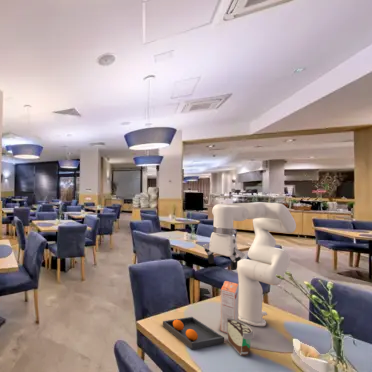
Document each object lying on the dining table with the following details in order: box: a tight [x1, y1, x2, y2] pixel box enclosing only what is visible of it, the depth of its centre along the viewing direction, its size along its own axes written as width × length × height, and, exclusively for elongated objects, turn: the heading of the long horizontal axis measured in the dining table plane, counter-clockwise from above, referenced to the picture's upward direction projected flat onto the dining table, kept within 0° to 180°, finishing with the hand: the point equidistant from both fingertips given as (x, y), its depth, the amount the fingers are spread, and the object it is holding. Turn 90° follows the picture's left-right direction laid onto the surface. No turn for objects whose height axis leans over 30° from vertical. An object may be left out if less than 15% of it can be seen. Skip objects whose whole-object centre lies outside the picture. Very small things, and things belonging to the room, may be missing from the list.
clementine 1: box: [173, 319, 184, 331], centre depth 112 cm, size 5×5×5 cm
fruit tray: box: [162, 316, 225, 350], centre depth 109 cm, size 18×17×3 cm
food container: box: [226, 318, 255, 357], centre depth 100 cm, size 12×6×10 cm, turn 168°
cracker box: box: [220, 280, 239, 334], centre depth 115 cm, size 14×6×21 cm, turn 134°
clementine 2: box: [186, 329, 198, 341], centre depth 104 cm, size 5×5×5 cm
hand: (221, 266), depth 112 cm, fingers open, 9 cm apart
